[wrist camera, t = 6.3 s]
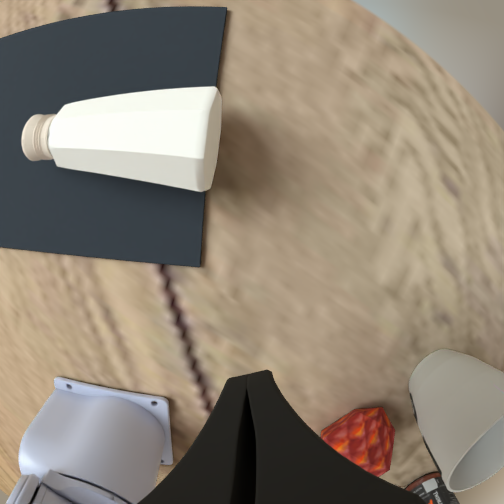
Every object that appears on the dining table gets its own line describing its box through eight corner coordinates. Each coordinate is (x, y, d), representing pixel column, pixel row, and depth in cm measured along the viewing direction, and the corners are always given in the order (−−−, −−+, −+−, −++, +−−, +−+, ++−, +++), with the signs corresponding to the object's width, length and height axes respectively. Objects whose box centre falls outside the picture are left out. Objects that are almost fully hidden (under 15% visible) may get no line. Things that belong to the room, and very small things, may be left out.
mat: (-22, 243, 18) (-25, 244, 17) (-2, 40, 14) (-4, 39, 14) (200, 265, 19) (199, 267, 19) (227, 9, 15) (227, 7, 15)
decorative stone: (375, 406, 25) (326, 476, 23) (333, 380, 23) (275, 462, 21) (428, 430, 19) (371, 512, 17) (393, 408, 17) (322, 507, 15)
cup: (372, 398, 22) (423, 490, 12) (437, 315, 21) (521, 384, 11) (429, 420, 23) (478, 492, 14) (484, 350, 22) (552, 409, 12)
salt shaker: (225, 81, 16) (55, 85, 15) (207, 94, 11) (-1, 106, 11) (218, 171, 19) (61, 162, 18) (200, 215, 14) (14, 199, 14)
